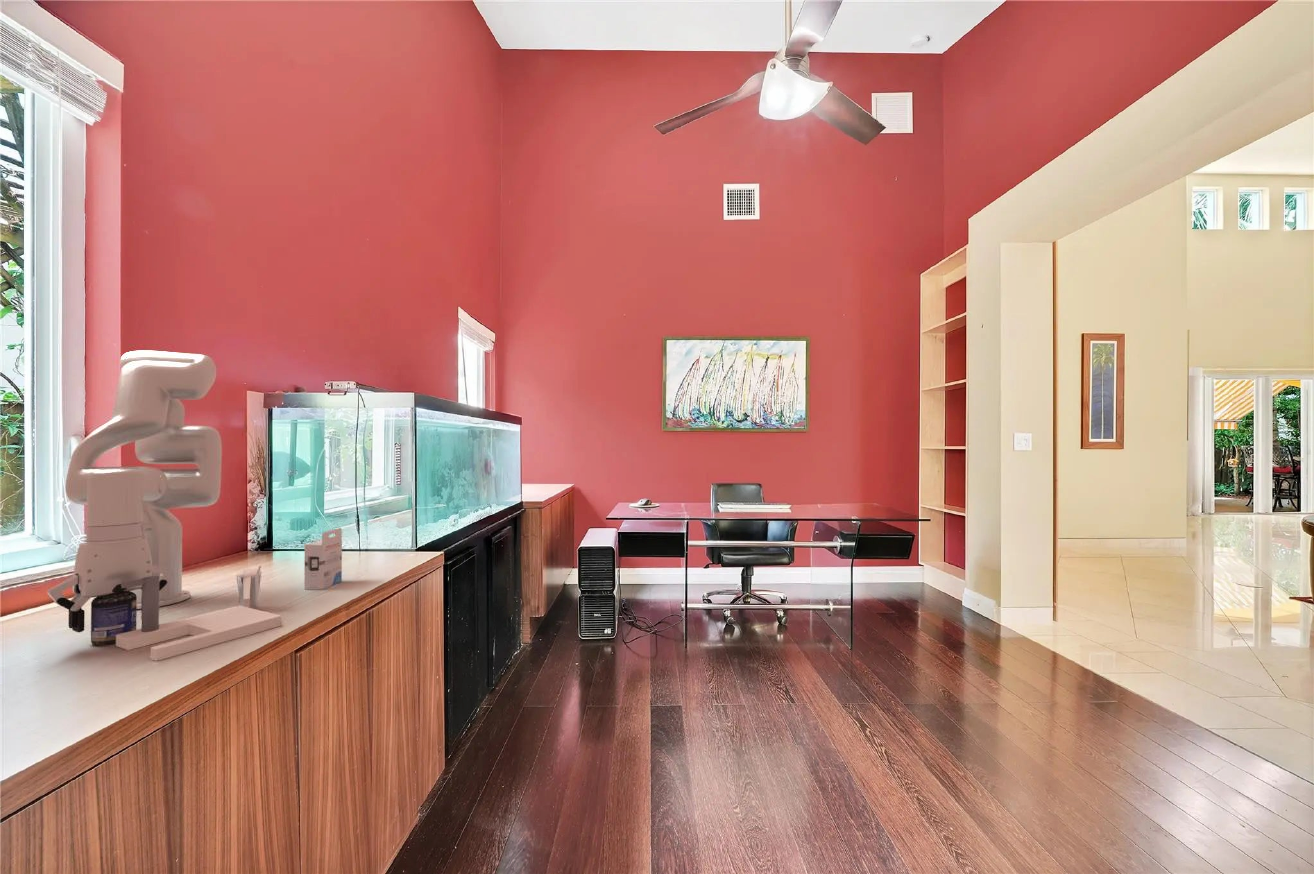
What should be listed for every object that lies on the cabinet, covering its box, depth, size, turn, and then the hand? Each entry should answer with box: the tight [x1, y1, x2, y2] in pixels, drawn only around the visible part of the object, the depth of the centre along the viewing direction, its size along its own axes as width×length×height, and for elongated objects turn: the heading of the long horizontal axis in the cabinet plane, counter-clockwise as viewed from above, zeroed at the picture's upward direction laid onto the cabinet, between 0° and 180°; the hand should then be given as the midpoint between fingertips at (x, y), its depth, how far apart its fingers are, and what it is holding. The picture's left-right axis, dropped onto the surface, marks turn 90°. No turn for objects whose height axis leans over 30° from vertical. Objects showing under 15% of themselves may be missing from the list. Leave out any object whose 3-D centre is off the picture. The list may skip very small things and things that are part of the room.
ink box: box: [303, 527, 343, 591], centre depth 141 cm, size 9×5×15 cm, turn 179°
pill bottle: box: [90, 584, 138, 646], centre depth 101 cm, size 6×6×11 cm
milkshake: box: [235, 565, 262, 610], centre depth 120 cm, size 5×5×10 cm
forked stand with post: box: [115, 576, 282, 662], centre depth 104 cm, size 16×20×12 cm
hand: (114, 622), depth 101 cm, fingers open, 9 cm apart
